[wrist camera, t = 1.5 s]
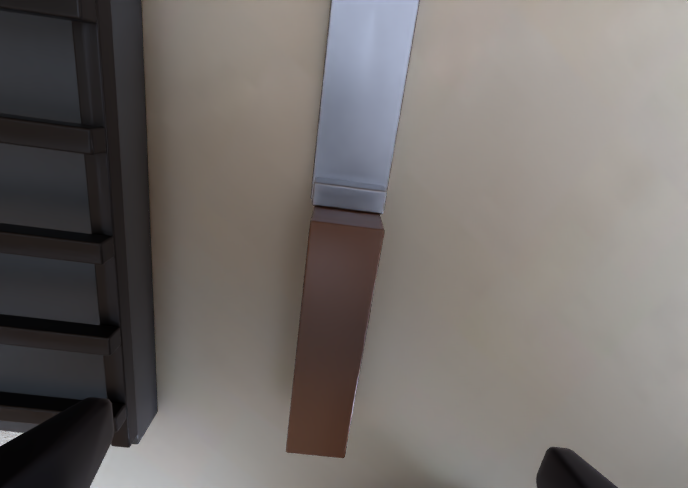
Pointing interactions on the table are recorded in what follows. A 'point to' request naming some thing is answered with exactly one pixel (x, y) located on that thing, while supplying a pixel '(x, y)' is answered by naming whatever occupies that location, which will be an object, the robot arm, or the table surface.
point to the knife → (347, 213)
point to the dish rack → (74, 214)
